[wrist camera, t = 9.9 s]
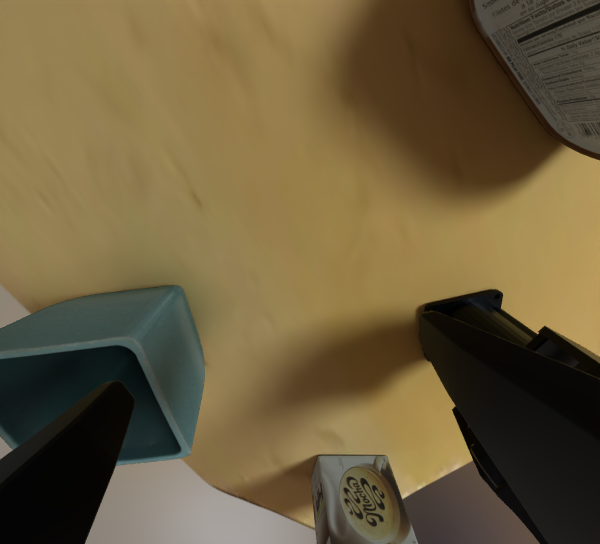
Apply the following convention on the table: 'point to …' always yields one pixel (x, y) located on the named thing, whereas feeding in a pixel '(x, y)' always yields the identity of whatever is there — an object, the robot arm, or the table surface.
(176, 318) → the flower pot
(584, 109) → the tin
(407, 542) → the coffee box
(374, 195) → the table surface
